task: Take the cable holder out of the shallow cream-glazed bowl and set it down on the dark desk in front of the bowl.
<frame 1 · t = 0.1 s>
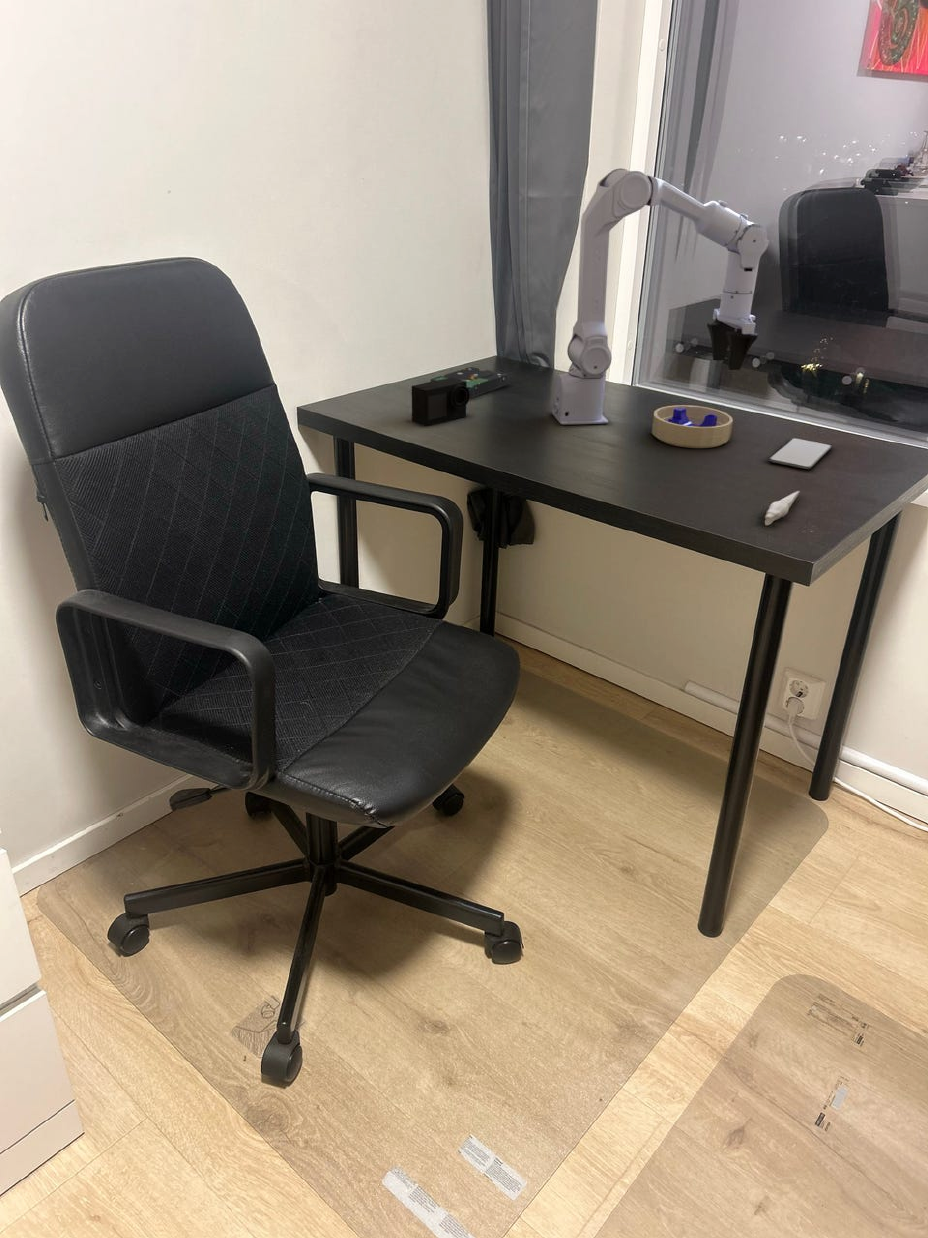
hand: (726, 364, 172), 10 cm above the table, tool pointing down, fingers open, 7 cm apart
spindle seashell: (782, 512, 133), on the table
bowl: (689, 436, 164), on the table
digital camera: (441, 420, 171), on the table
smartphone: (800, 455, 156), on the table
disk drive: (469, 389, 191), on the table
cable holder: (690, 435, 164), resting on bowl
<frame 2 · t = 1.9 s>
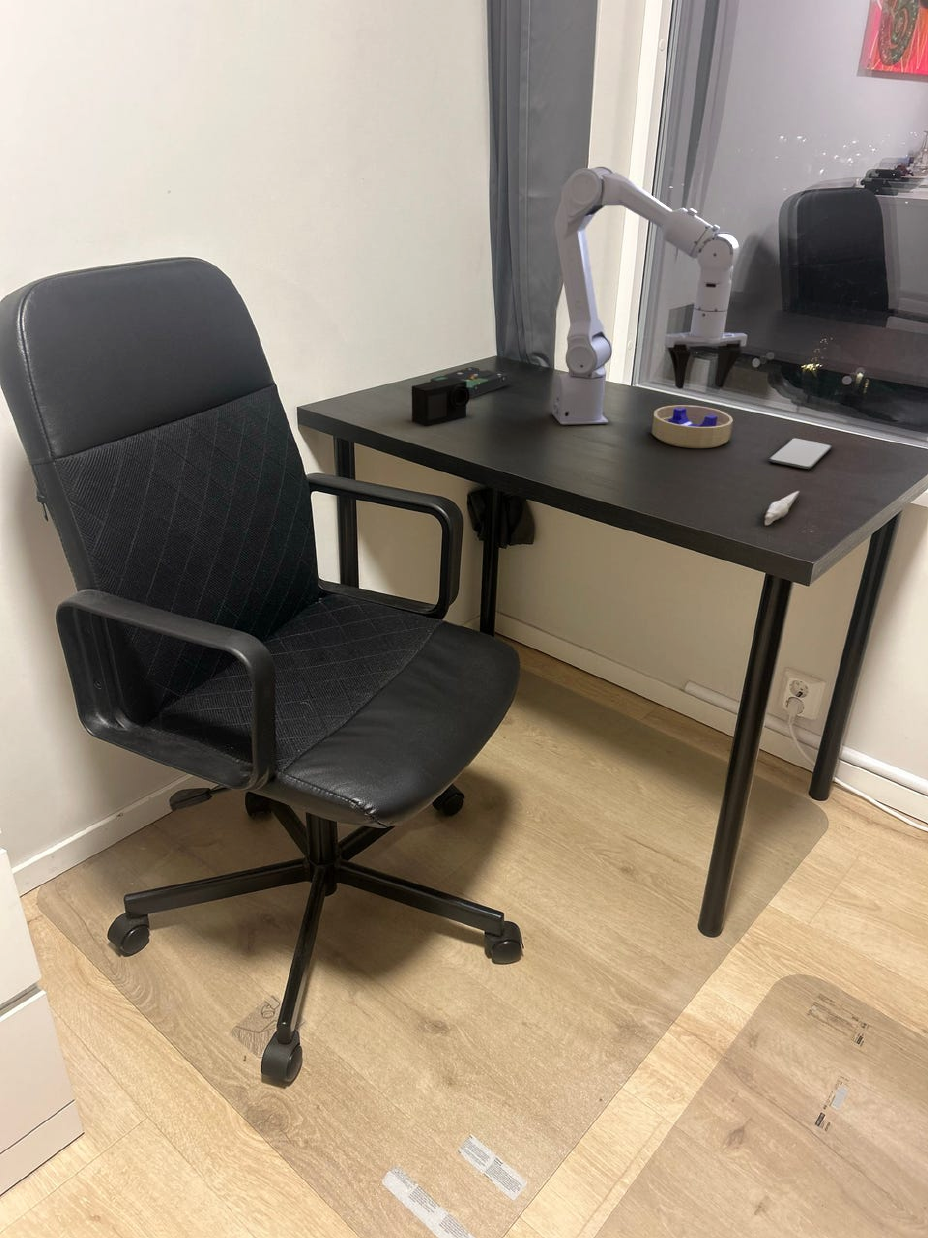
hand: (699, 386, 160), 9 cm above the table, tool pointing down, fingers open, 7 cm apart
nothing on the table moved.
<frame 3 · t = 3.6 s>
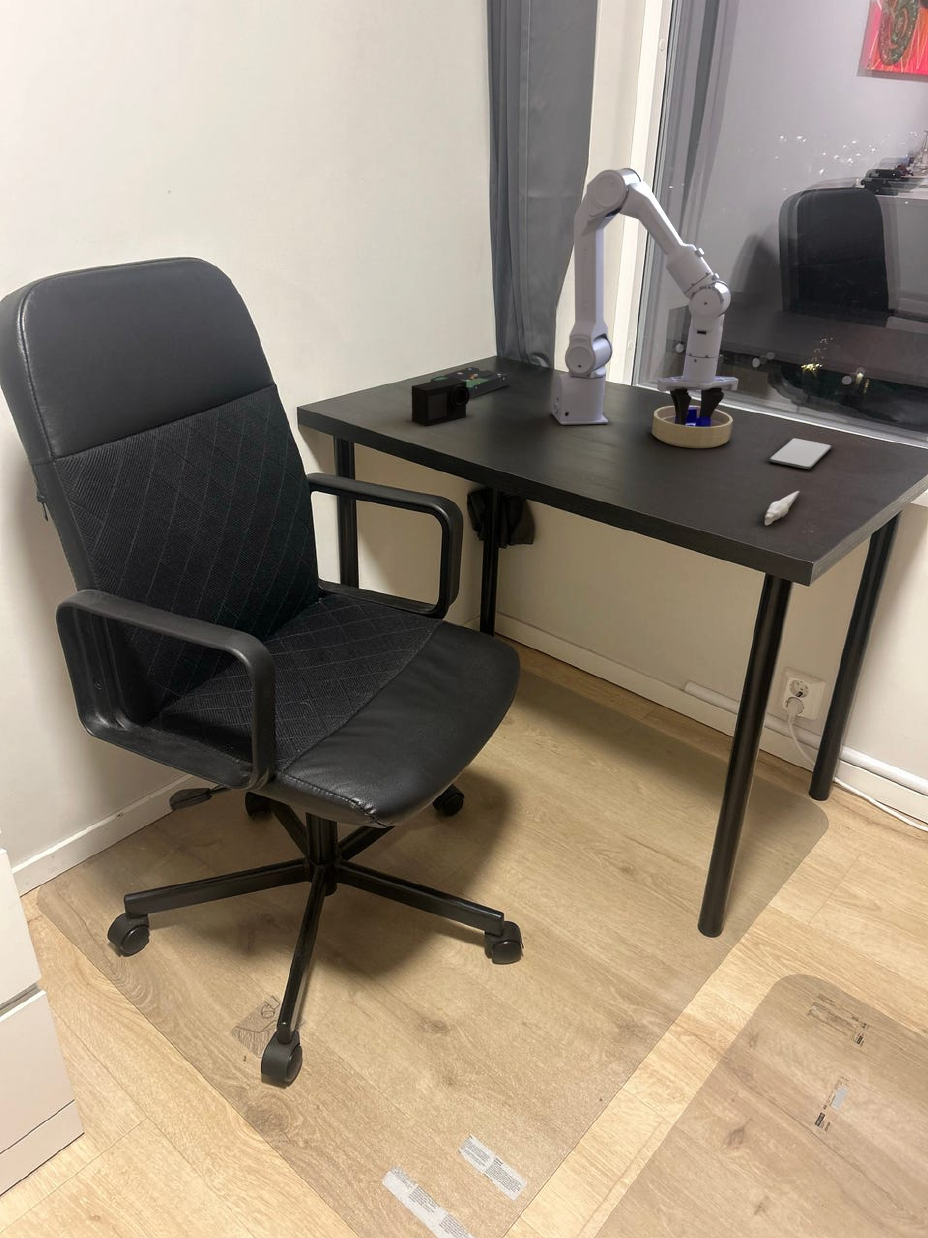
hand: (691, 428, 163), 2 cm above the table, tool pointing down, fingers closed on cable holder, 3 cm apart
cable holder: (690, 435, 164), resting on bowl, touching gripper
everything else where it was.
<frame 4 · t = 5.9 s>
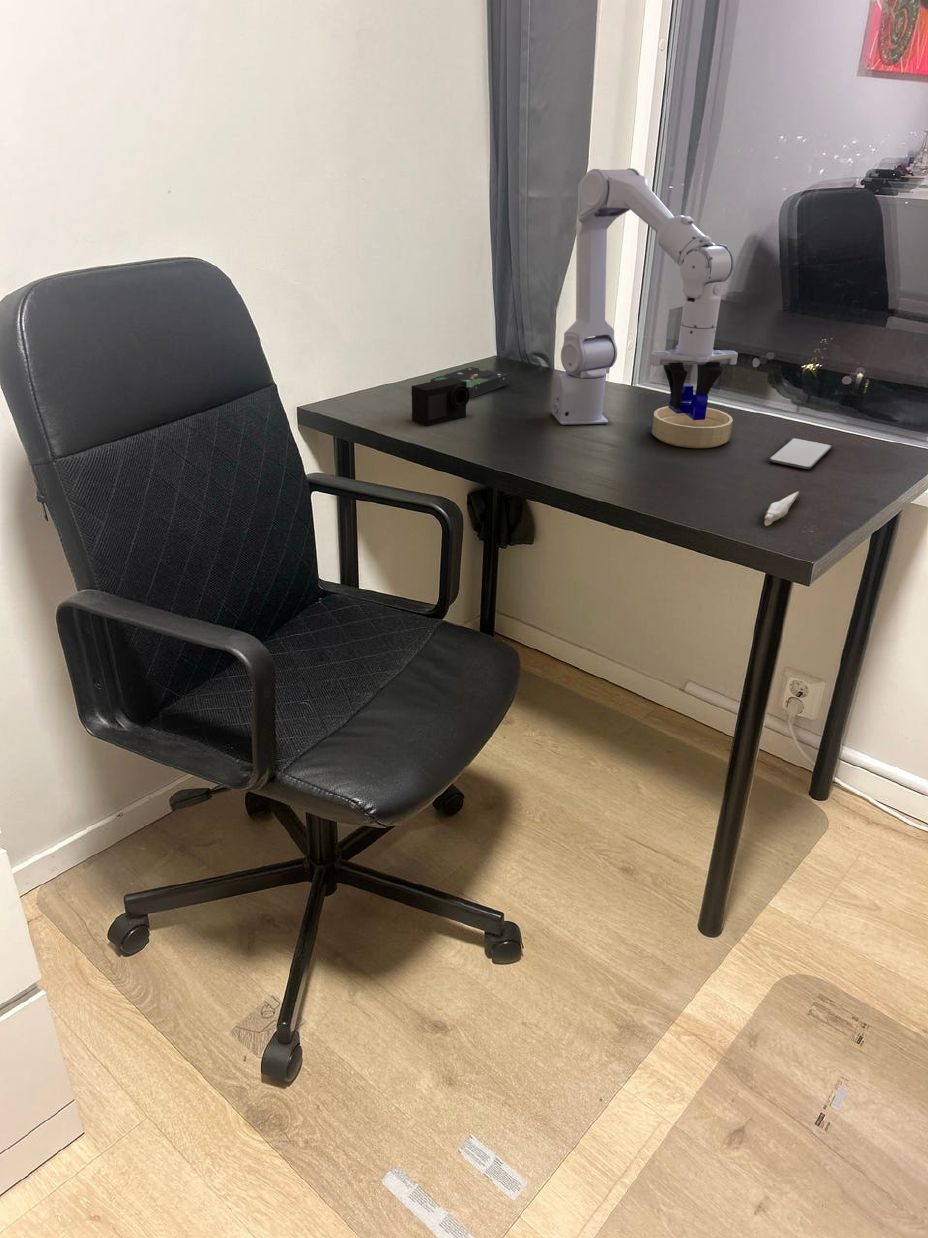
hand: (686, 407, 151), 9 cm above the table, tool pointing down, fingers closed on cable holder, 3 cm apart
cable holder: (685, 414, 151), point 7 cm above the table, touching gripper
everything else where it was.
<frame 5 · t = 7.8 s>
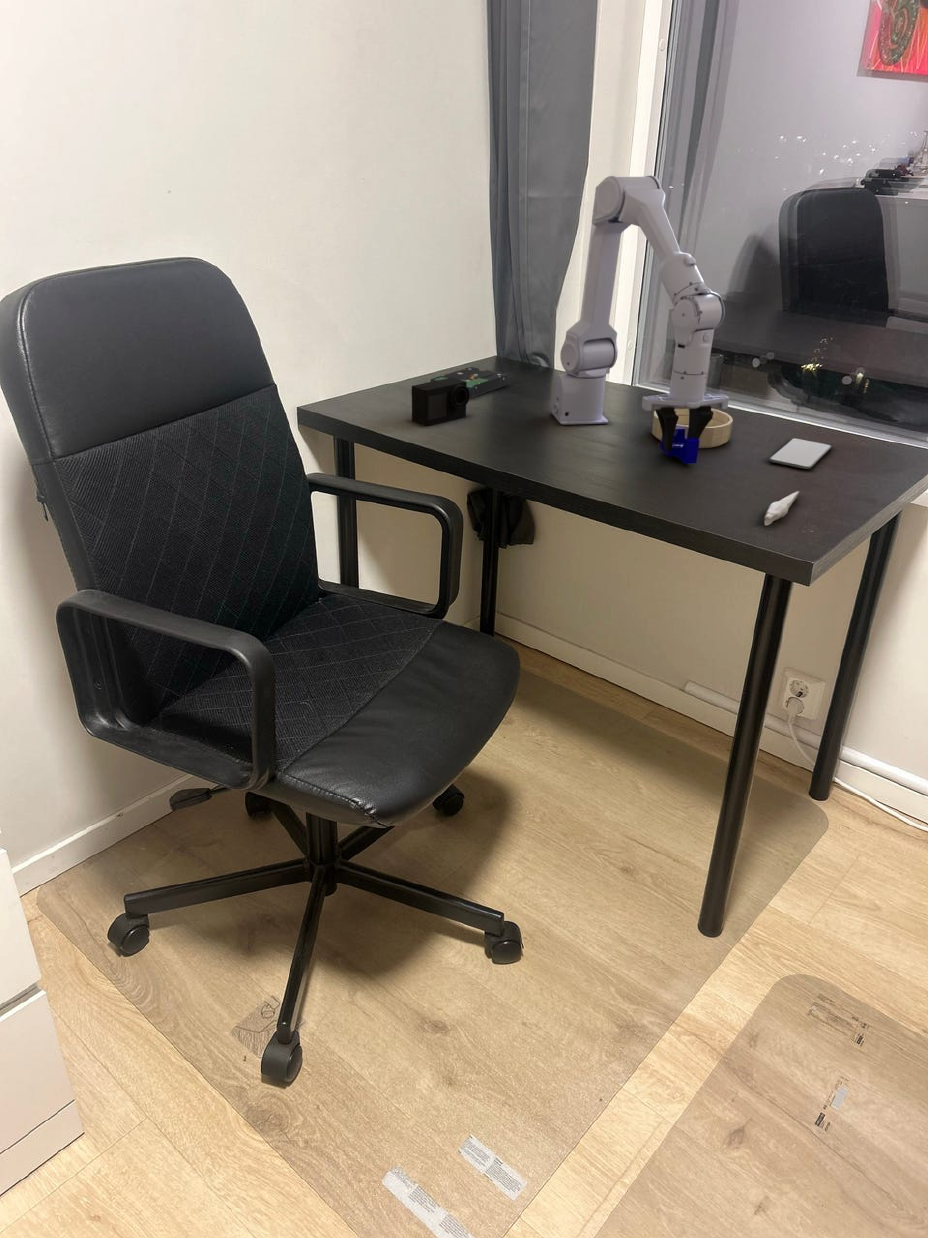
hand: (678, 449, 152), 2 cm above the table, tool pointing down, fingers closed on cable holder, 3 cm apart
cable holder: (677, 457, 153), on the table, touching gripper
everything else where it was.
when the fingers open (1 cm above the table, at t = 8.3 s): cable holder stays where it is, on the table.
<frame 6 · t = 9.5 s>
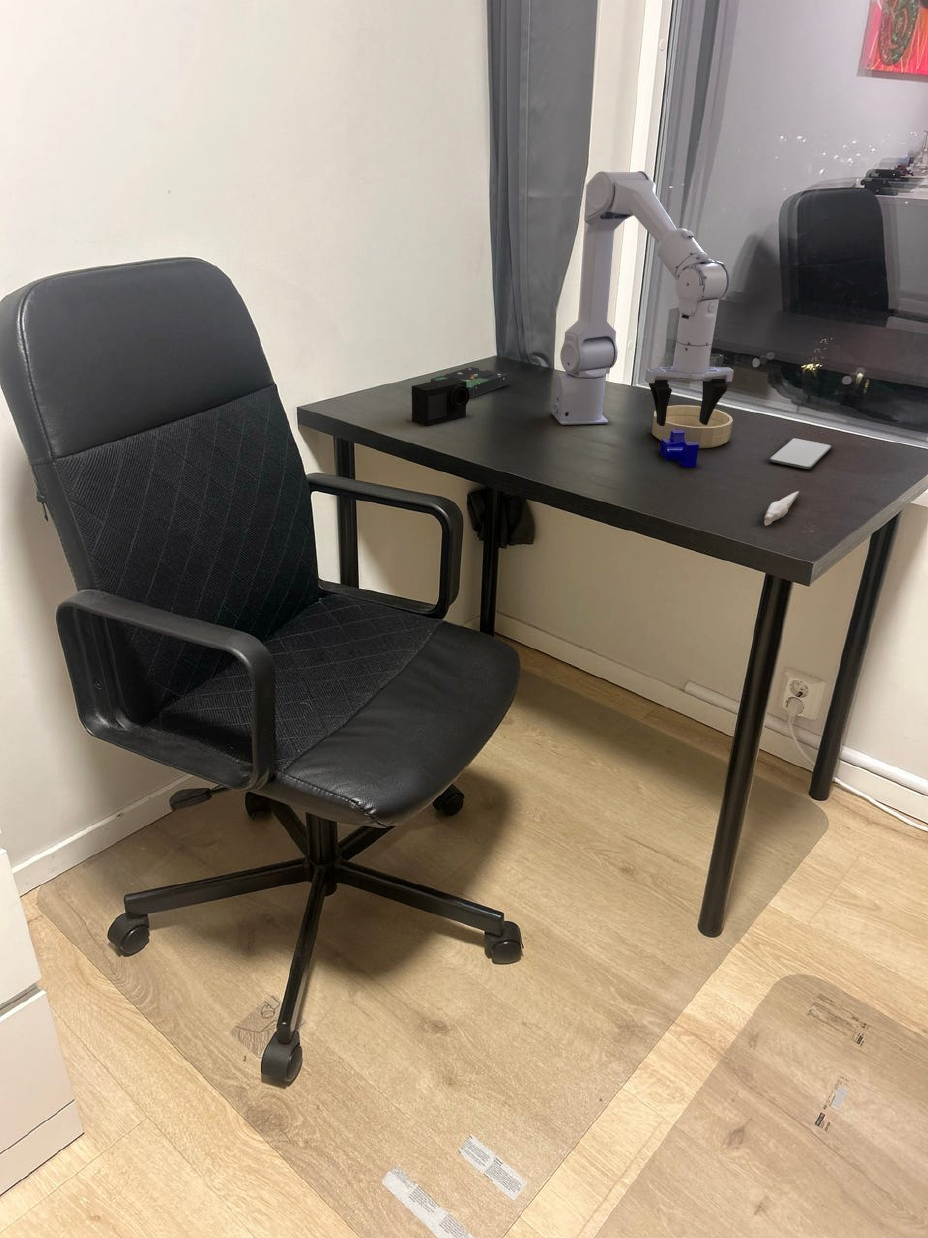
hand: (681, 423, 150), 6 cm above the table, tool pointing down, fingers open, 7 cm apart
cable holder: (677, 460, 153), on the table
everything else where it was.
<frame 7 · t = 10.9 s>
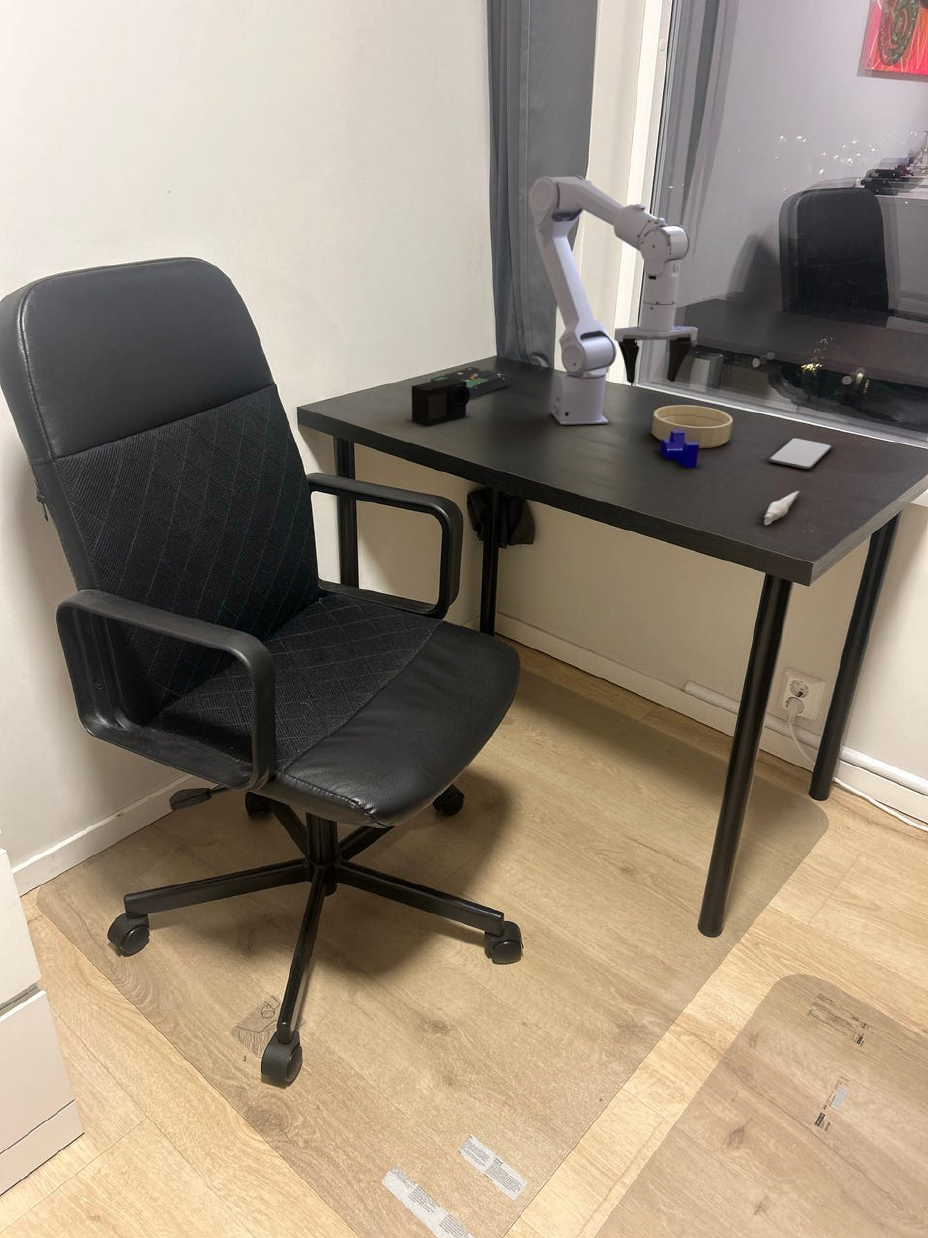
hand: (650, 381, 158), 10 cm above the table, tool pointing down, fingers open, 7 cm apart
nothing on the table moved.
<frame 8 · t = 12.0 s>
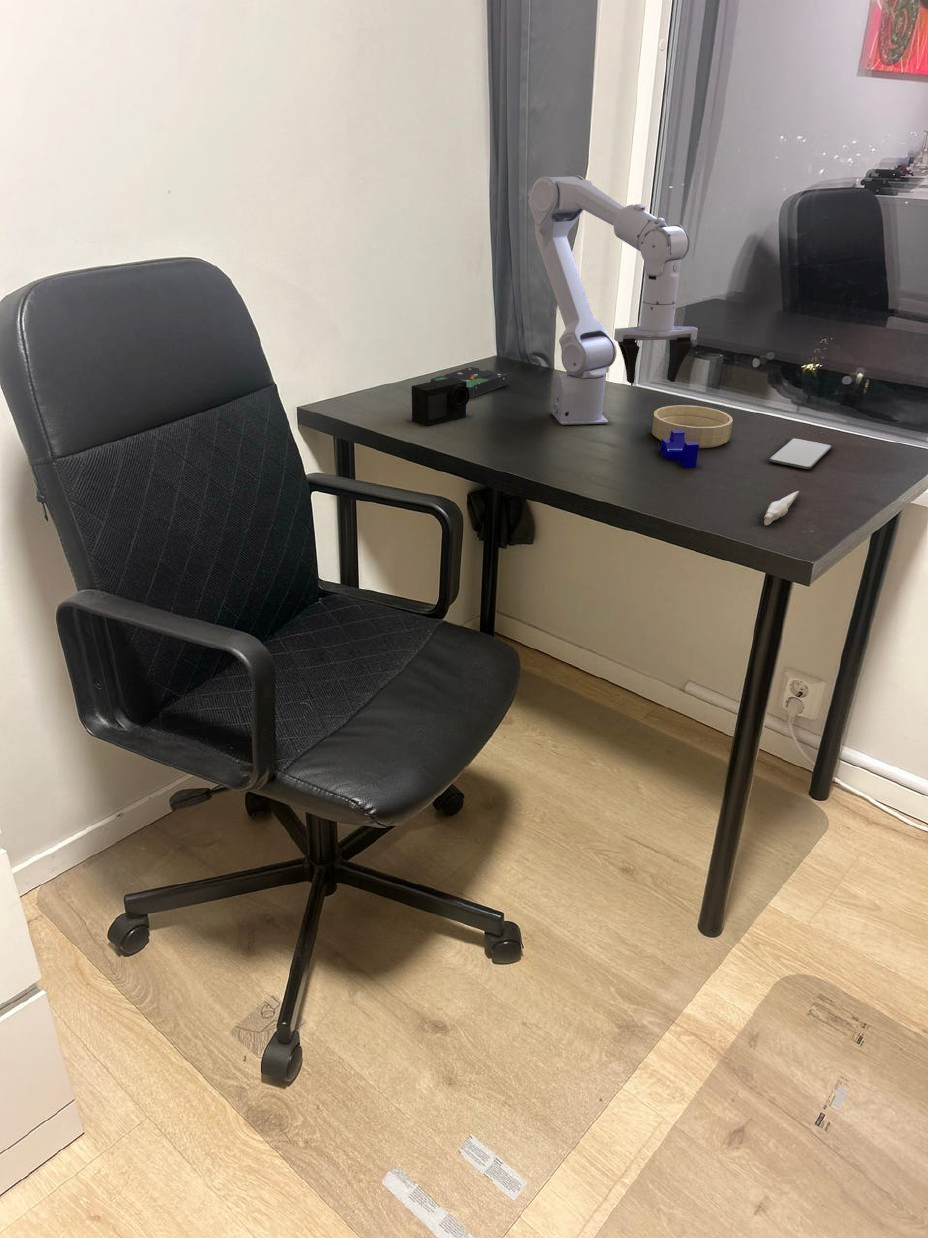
hand: (650, 381, 158), 10 cm above the table, tool pointing down, fingers open, 7 cm apart
nothing on the table moved.
at the end: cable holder inside the target area (0.1 cm from its centre), on the table; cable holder touching table; the gripper is holding nothing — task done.
